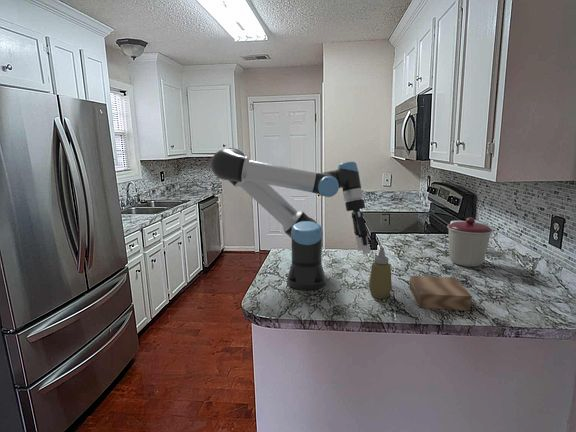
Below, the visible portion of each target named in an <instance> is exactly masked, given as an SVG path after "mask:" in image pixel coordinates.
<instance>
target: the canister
mask: <svg viewBox="0 0 576 432" xmlns="http://www.w3.org/2000/svg"><path fill="white" fill-rule="evenodd" d="M465 221H466V222H454V223H451V222H450V223H451V224H450V223H449V224H447V226H446V227H447V229H448V249H449V251H448V252H449V253H448V255H449V258H450V260H451V262H452V263H454V264H456V265H459V266H461V267H462V266H463V267H471V268H472V267H480V266H482V264H483V263H484V260H485V259H486V255H487V250H488V247H489V242H490V239H491V234H492V233H493V232H494V230H493V228H492V227H490V226H488V225H487V224H484V223H480V222H476V220H475V218H474V217H467V218H466V219H465Z"/></svg>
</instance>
